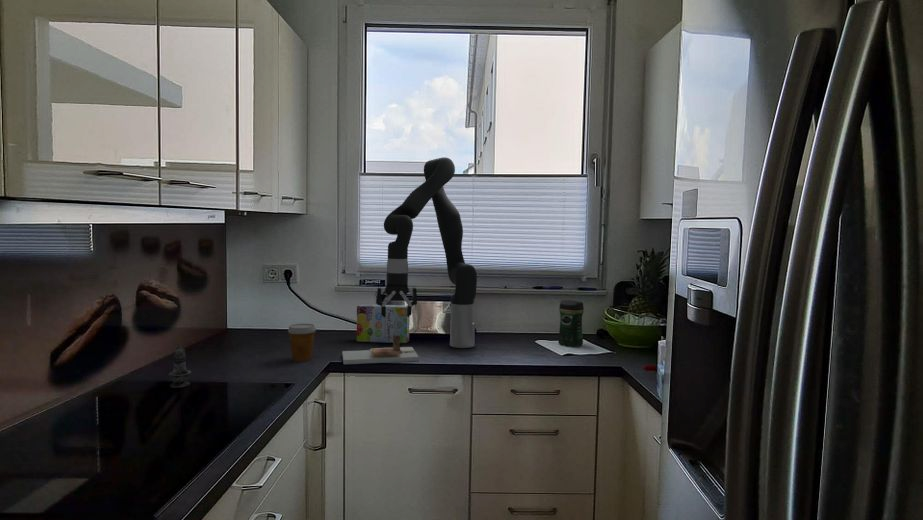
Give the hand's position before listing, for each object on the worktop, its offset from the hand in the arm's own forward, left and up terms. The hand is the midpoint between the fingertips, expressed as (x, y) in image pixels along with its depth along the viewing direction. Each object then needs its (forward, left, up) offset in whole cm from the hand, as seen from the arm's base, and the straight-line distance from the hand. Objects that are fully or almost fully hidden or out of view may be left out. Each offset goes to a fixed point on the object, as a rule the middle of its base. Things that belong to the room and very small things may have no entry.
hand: (396, 316), depth 184 cm
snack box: (+1, -31, -16) cm, 35 cm away
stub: (+3, 0, -13) cm, 13 cm away
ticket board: (+5, -3, -15) cm, 16 cm away
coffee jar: (-74, -11, -16) cm, 76 cm away
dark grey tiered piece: (+65, +18, -16) cm, 70 cm away
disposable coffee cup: (+32, -6, -16) cm, 36 cm away
